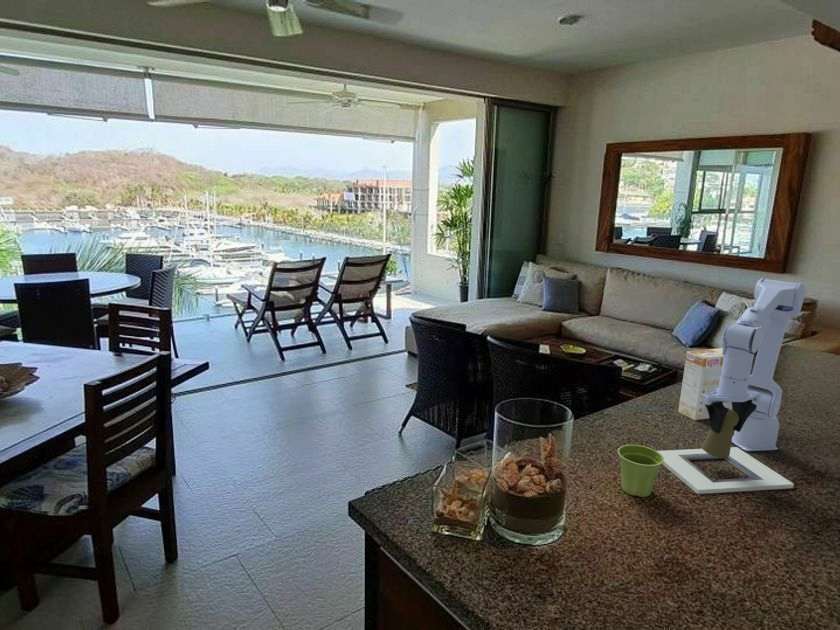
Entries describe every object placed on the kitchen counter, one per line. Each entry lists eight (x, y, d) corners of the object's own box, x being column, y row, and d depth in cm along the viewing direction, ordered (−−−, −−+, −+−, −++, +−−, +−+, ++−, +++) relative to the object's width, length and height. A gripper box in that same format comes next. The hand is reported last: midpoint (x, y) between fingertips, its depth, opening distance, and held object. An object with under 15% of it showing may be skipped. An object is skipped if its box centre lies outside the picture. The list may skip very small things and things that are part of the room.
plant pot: (638, 506, 113) (643, 468, 111) (604, 484, 121) (608, 449, 119) (668, 496, 117) (673, 459, 115) (633, 475, 125) (638, 441, 123)
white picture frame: (736, 450, 139) (736, 447, 139) (793, 488, 122) (793, 484, 122) (651, 454, 136) (651, 451, 135) (697, 494, 118) (698, 489, 118)
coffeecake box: (714, 406, 168) (724, 347, 164) (734, 415, 162) (745, 354, 157) (676, 411, 164) (685, 350, 159) (695, 421, 157) (705, 357, 153)
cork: (732, 460, 126) (746, 419, 122) (705, 454, 127) (718, 414, 124) (725, 446, 132) (737, 406, 128) (698, 441, 133) (710, 402, 129)
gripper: (747, 369, 129) (738, 421, 132) (695, 371, 126) (687, 425, 129) (772, 379, 122) (761, 434, 125) (718, 382, 119) (708, 438, 122)
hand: (725, 430), depth 127 cm, fingers closed on cork, 5 cm apart
